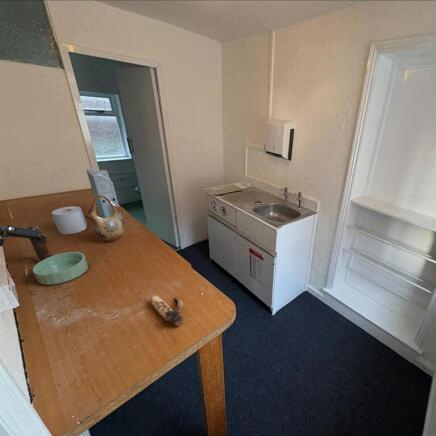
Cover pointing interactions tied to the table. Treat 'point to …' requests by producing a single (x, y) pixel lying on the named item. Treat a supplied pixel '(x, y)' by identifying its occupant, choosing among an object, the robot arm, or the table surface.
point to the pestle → (39, 247)
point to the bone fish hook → (168, 310)
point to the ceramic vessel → (106, 222)
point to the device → (103, 191)
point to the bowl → (60, 268)
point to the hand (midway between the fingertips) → (24, 241)
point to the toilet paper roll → (69, 220)
